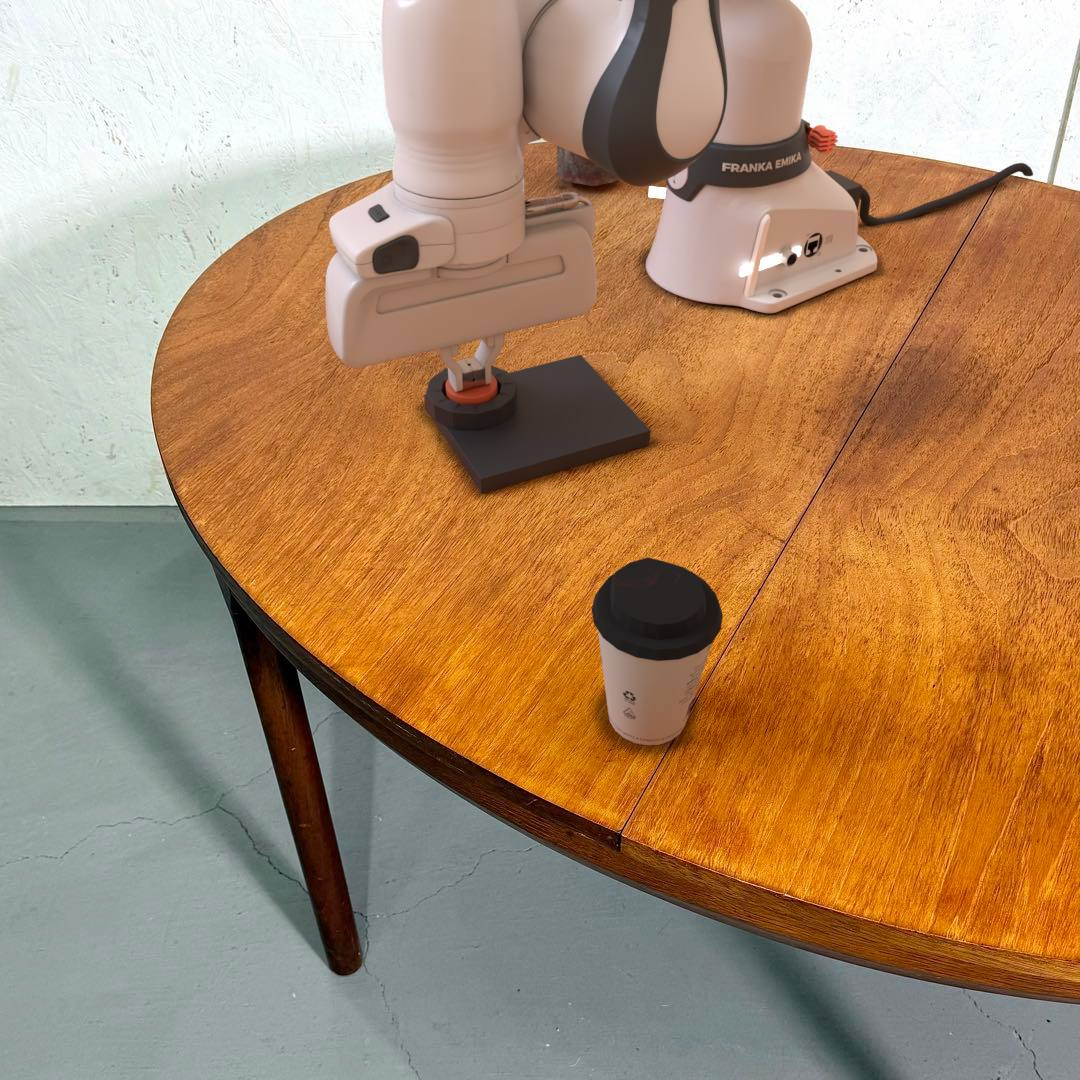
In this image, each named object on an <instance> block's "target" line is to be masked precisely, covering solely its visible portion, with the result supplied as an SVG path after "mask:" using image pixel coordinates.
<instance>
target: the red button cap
mask: <svg viewBox="0 0 1080 1080" xmlns="http://www.w3.org/2000/svg"><path fill="white" fill-rule="evenodd" d="M491 378H492V382H491V383H490V384H486V385H482V386H478V387H474V388H471V389H467V390H463V391H459V392H455V391H454V389H453V388H452V386H451V385H450V382H449V378H448V380H447V381H446V397H447V399H449V400H451V401H454V402H456V403H459V404H470V405H476V404H480V403H484V402H487V401H491V400H492V399H493V398H495V397H496V396H497V395H498V392H497V381H496V379H495V377H494V376H493V375H491Z"/></svg>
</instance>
